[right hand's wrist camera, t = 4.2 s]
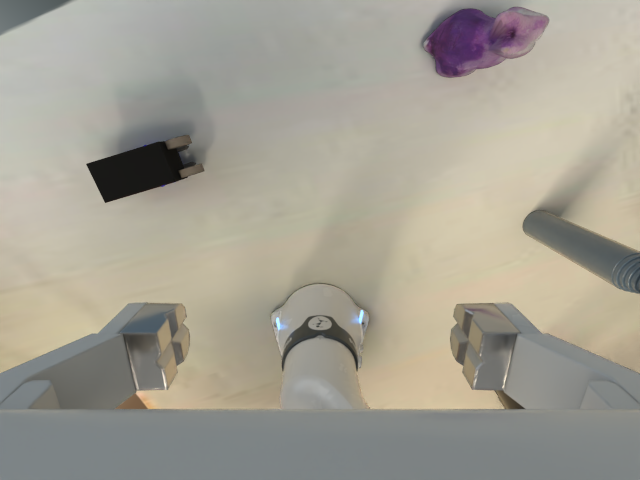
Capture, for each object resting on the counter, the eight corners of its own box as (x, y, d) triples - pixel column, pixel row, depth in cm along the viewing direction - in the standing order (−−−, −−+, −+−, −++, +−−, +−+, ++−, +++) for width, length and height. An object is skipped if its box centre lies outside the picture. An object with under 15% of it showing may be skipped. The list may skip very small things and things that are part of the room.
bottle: (517, 231, 60) (643, 306, 37) (533, 205, 58) (675, 267, 35) (541, 241, 61) (680, 320, 37) (557, 216, 59) (713, 282, 36)
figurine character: (194, 129, 55) (106, 158, 55) (182, 130, 48) (80, 163, 48) (211, 169, 57) (126, 197, 57) (201, 175, 50) (104, 207, 50)
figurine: (511, 45, 50) (586, 18, 36) (453, 97, 52) (503, 91, 38) (474, -11, 48) (539, -64, 33) (415, 46, 50) (453, 20, 36)
